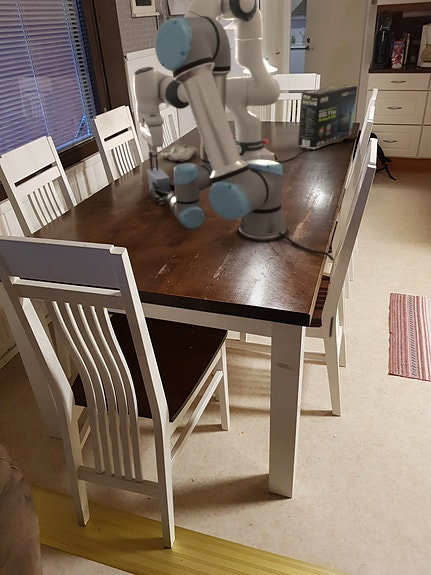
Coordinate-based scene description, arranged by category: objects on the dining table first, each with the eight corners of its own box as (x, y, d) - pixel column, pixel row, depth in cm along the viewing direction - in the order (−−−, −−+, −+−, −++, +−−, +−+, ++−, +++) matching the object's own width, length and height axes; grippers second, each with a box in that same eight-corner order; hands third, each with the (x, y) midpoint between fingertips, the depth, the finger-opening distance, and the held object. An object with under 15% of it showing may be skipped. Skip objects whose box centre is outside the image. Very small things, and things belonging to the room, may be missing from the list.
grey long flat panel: (146, 172, 182) (144, 151, 177) (159, 170, 183) (157, 149, 179) (156, 182, 170) (154, 160, 166) (169, 180, 171) (167, 158, 167)
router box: (314, 151, 231) (318, 94, 217) (296, 148, 237) (299, 92, 224) (352, 138, 251) (358, 85, 238) (335, 135, 258) (340, 83, 245)
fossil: (184, 156, 217) (163, 136, 220) (174, 174, 223) (154, 154, 227) (205, 153, 231) (186, 134, 234) (195, 171, 237) (176, 152, 240)
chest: (149, 193, 186) (147, 172, 181) (162, 191, 187) (159, 171, 183) (158, 204, 174) (156, 182, 170) (171, 202, 176) (169, 180, 172)
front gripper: (154, 218, 156) (138, 197, 174) (204, 209, 161) (184, 190, 180) (152, 197, 152) (136, 178, 170) (203, 189, 157) (182, 171, 176)
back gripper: (134, 112, 177) (138, 148, 184) (147, 122, 160) (151, 161, 167) (150, 110, 179) (154, 146, 186) (164, 120, 162) (168, 159, 169)
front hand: (161, 184), depth 175 cm, fingers closed on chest, 5 cm apart
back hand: (153, 153), depth 176 cm, fingers closed on grey long flat panel, 2 cm apart
